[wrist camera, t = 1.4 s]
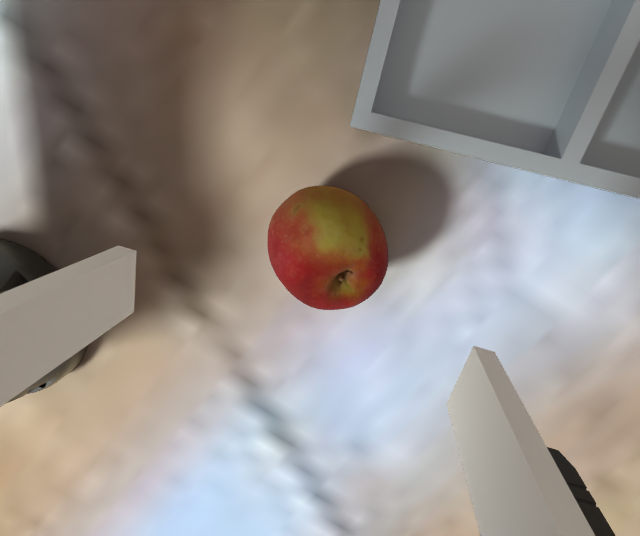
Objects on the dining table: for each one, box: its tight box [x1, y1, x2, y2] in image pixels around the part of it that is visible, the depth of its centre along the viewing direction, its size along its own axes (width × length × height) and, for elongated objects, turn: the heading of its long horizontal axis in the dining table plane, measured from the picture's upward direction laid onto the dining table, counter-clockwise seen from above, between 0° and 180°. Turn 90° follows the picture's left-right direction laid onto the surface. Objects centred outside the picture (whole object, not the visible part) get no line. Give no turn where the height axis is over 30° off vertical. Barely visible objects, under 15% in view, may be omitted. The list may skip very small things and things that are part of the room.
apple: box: [268, 186, 388, 310], centre depth 23 cm, size 8×8×8 cm
